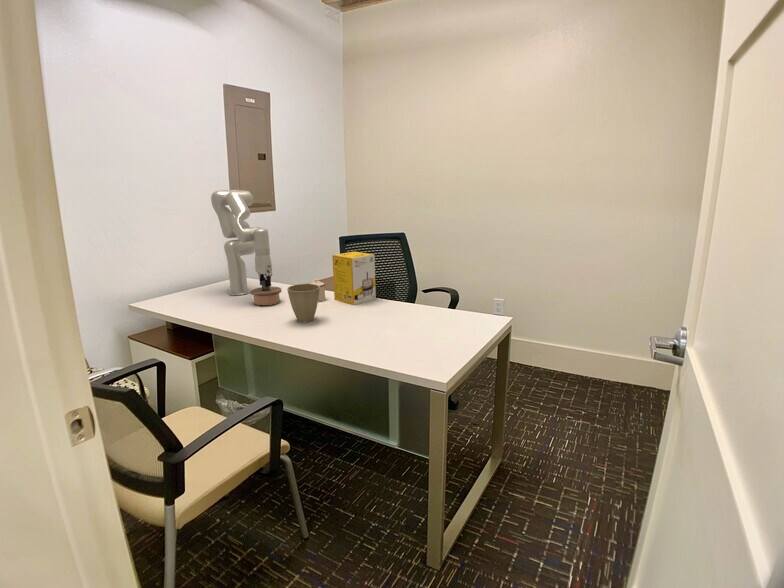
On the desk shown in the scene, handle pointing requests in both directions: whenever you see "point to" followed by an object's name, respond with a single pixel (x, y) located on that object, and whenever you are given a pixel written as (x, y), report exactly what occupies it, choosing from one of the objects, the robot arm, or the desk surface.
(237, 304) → the desk surface
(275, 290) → the lid
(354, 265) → the packaging box
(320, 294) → the teacup with lid
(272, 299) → the bowl
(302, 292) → the plant pot
